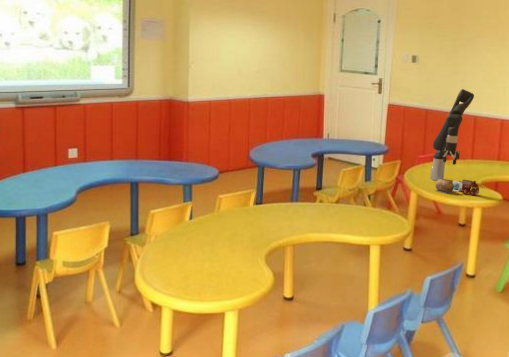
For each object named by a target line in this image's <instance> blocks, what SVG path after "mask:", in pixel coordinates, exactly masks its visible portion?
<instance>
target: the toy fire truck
mask: <svg viewBox="0 0 509 357" xmlns="http://www.w3.org/2000/svg"><path fill="white" fill-rule="evenodd" d="M461 183H462V191H461V192H462V194H463V195H464V196H465V195H467V194H469V195H470V196H471V197H474V196H475V195H478V194H479V193H480V187H479V184H478V183H477V181H476V180H470V179H462V180H461Z"/></svg>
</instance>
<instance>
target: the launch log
mask: <svg viewBox="0 0 509 357" xmlns="http://www.w3.org/2000/svg"><path fill="white" fill-rule="evenodd" d="M435 188H436V189H435V190H441V191H445V192H448V194H451V193H450V192H452V190H453V188H454V184H453V181H449V180H445V179H444V180H442V179H439V180H438V181H436V183H435Z"/></svg>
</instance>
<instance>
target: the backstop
mask: <svg viewBox="0 0 509 357" xmlns="http://www.w3.org/2000/svg"><path fill="white" fill-rule="evenodd" d="M452 182H453V183H458V184H459V188H458V189H459V192H462V181H461V182H460V181H458V180H452Z"/></svg>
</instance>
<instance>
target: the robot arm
mask: <svg viewBox="0 0 509 357" xmlns="http://www.w3.org/2000/svg"><path fill="white" fill-rule="evenodd" d="M474 98H475V94H474V93H473V92H470V91H469V90H466V89H464V88H463V89H460V91H459V92H458V94H457V96H456V99H455V101H454V103H453V106H452V108H451V110H450V111H449V113H448V114H447V116H446V119H445V121H444V122H443V125H442V126H441V129H440V131H439V133H438V134H437V136H436V137H435V139H434V140H433V143H432V147H433V149H434V150H436V152H435V153H434V154H433V161H432V167H431V170H430V171H431V172H430V179H431V180H432V181H436V182H437V181H438V180H439V179H442V180H445V179H444V178H445V177H444V176H445V169H446V163H447V156H451V157H452V158H453V160H452V166H453V165H456V164H457V160H459V159H460V152H461V151H459V150H457V146H458V135H459V130H460V126H461V124H462V122H463V114H464V112H465V111H466V110H467V108H468V107H469V106H470V105H471V103H472V102H473V100H474Z"/></svg>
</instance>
